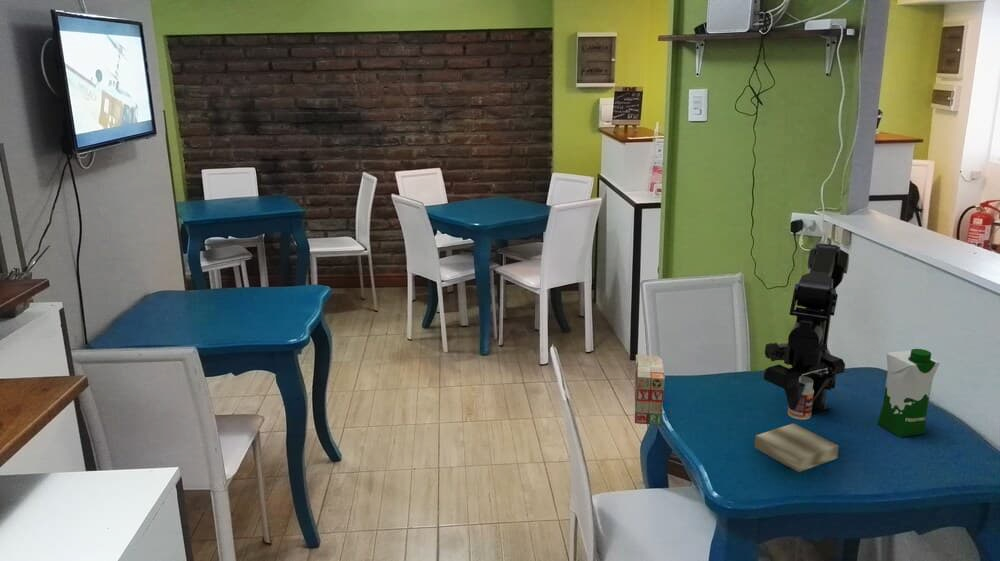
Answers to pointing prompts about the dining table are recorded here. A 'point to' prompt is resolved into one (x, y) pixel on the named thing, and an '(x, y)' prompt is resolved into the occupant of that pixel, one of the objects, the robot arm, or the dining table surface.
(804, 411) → the pill bottle
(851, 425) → the dining table surface
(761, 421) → the dining table surface
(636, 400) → the stack of blocks
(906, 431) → the milk carton
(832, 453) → the birch block
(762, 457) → the dining table surface
